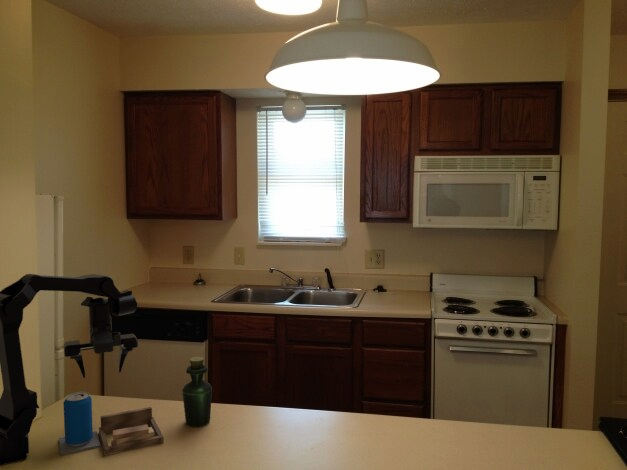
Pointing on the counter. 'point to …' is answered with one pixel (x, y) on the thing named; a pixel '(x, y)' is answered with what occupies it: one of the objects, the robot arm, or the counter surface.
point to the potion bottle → (197, 395)
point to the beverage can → (78, 418)
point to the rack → (126, 421)
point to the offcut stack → (131, 434)
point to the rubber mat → (72, 449)
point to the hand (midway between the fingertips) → (102, 374)
